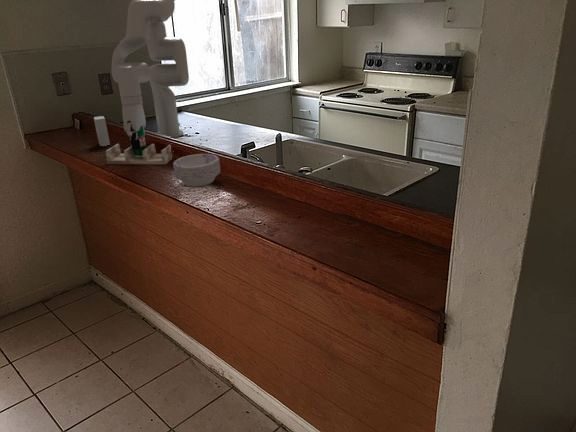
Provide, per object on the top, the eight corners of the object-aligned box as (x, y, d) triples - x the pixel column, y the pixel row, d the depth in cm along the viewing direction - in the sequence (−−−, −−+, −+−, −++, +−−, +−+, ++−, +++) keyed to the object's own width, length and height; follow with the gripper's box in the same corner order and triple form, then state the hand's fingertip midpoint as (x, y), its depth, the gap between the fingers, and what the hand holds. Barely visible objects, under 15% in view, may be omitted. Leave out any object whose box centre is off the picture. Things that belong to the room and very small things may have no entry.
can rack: (118, 156, 200) (116, 143, 198) (174, 156, 197) (173, 143, 195) (107, 163, 191) (104, 150, 189) (165, 164, 188) (163, 150, 186)
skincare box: (98, 143, 220) (93, 117, 215) (108, 142, 222) (103, 115, 217) (100, 147, 215) (94, 119, 210) (110, 145, 217) (105, 118, 212)
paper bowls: (166, 183, 167) (163, 161, 164) (203, 172, 177) (201, 150, 174) (193, 193, 157) (190, 169, 154) (230, 181, 167) (228, 158, 164)
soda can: (139, 157, 190) (134, 126, 185) (131, 155, 193) (126, 124, 188) (150, 153, 194) (145, 123, 189) (141, 151, 196) (137, 121, 192)
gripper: (132, 96, 193) (139, 141, 200) (111, 104, 178) (120, 153, 185) (150, 95, 192) (157, 141, 199) (131, 104, 177) (139, 153, 184)
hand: (139, 147), depth 192 cm, fingers closed on soda can, 5 cm apart
